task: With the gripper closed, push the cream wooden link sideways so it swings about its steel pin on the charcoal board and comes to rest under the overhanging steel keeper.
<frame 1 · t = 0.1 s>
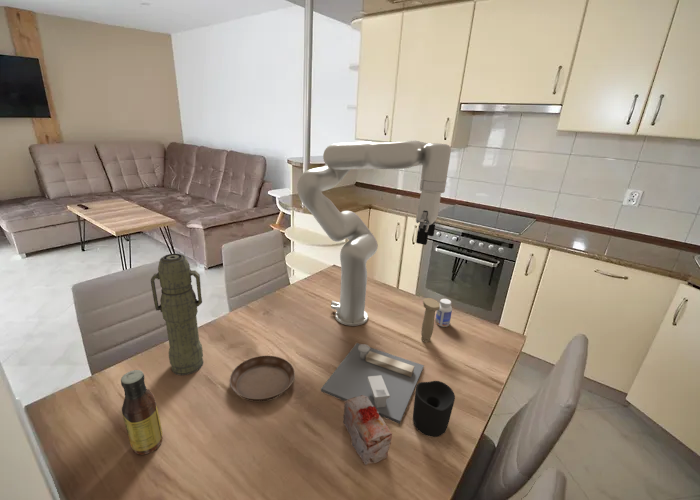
hand: (425, 239, 110), 37 cm above the table, tool pointing down, fingers open, 9 cm apart
sauce bottle: (148, 445, 78), on the table
pill bottle: (442, 323, 132), on the table
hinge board: (363, 360, 109), on the table
food item: (364, 442, 82), on the table
pen holder: (429, 424, 88), on the table
plant saucer: (263, 384, 98), on the table
handle: (425, 340, 121), on the table
thermos: (188, 365, 103), on the table
link: (389, 363, 105), point 2 cm above the table, hinge at 0.0°
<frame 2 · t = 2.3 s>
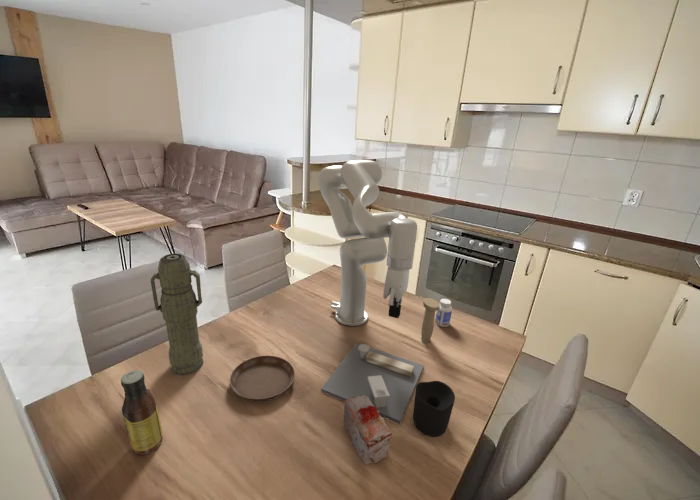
hand: (394, 315, 106), 15 cm above the table, tool pointing down, fingers closed
nothing on the table moved.
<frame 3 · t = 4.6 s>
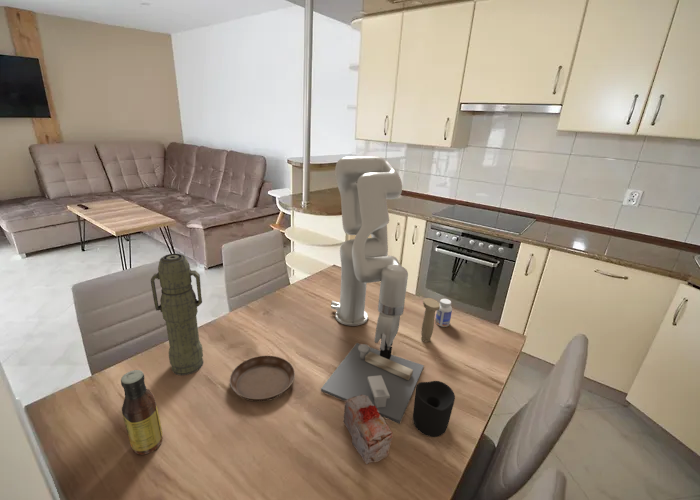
hand: (385, 357, 108), 2 cm above the table, tool pointing down, fingers closed
link: (388, 365, 104), point 2 cm above the table, hinge at -6.4°, touching gripper
everything else where it was.
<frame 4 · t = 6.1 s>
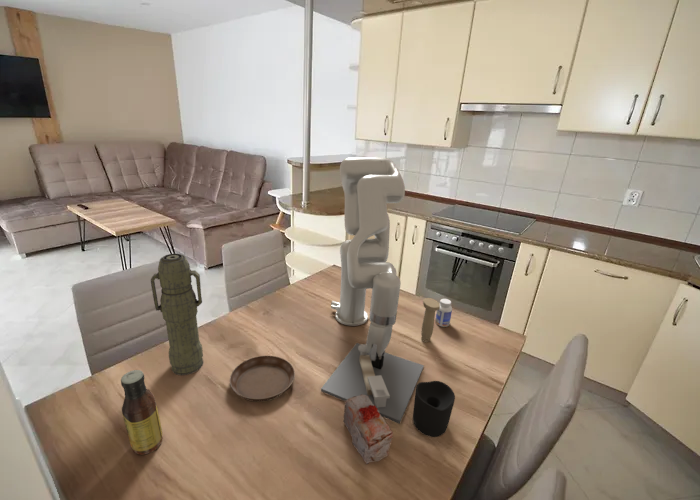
hand: (376, 366, 104), 2 cm above the table, tool pointing down, fingers closed
link: (368, 373, 100), point 2 cm above the table, hinge at -57.0°, touching gripper
everything else where it was.
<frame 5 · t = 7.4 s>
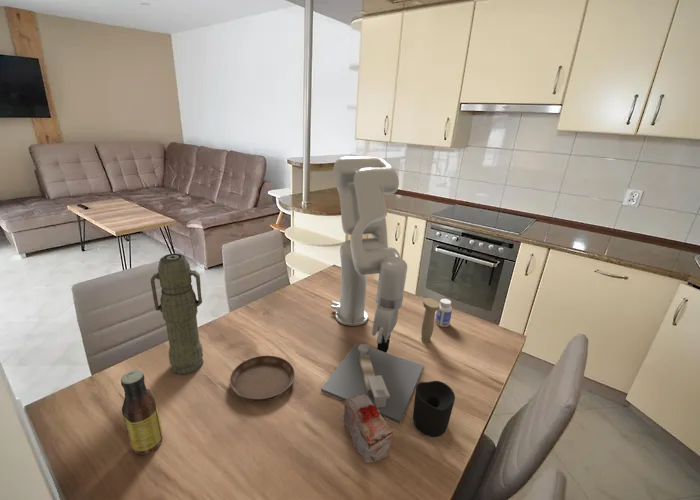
hand: (382, 349, 107), 5 cm above the table, tool pointing down, fingers closed
link: (368, 373, 100), point 2 cm above the table, hinge at -57.0°
everything else where it was.
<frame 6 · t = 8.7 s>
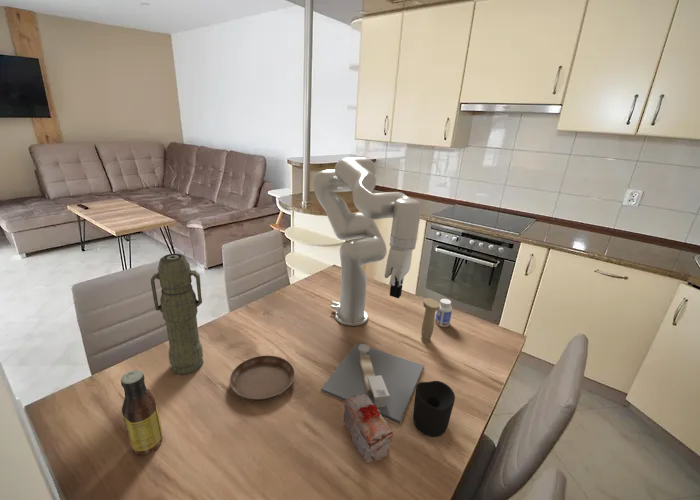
hand: (395, 295, 107), 21 cm above the table, tool pointing down, fingers closed
nothing on the table moved.
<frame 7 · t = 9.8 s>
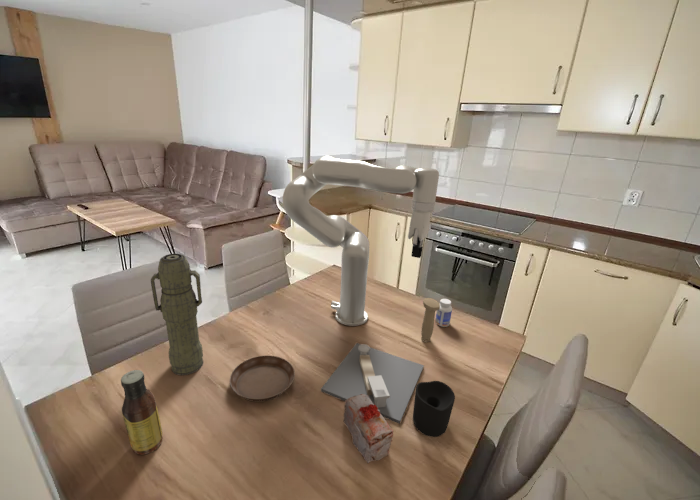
hand: (416, 256, 122), 27 cm above the table, tool pointing down, fingers closed
nothing on the table moved.
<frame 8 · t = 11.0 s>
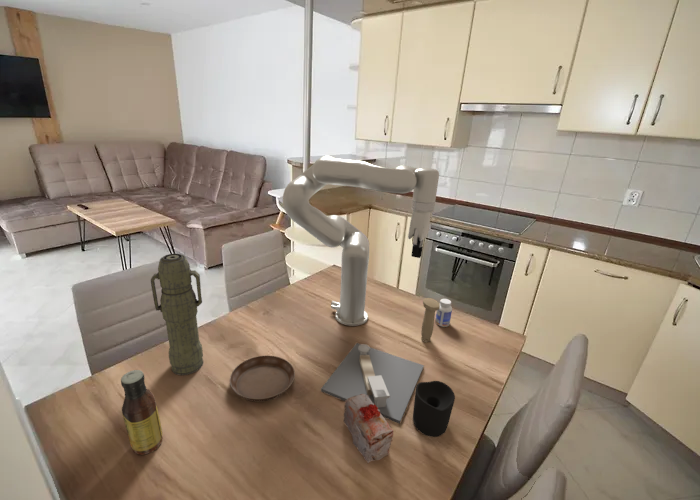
hand: (416, 256, 122), 27 cm above the table, tool pointing down, fingers closed
nothing on the table moved.
at the end: link at -57° (first picture: +0°) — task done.
